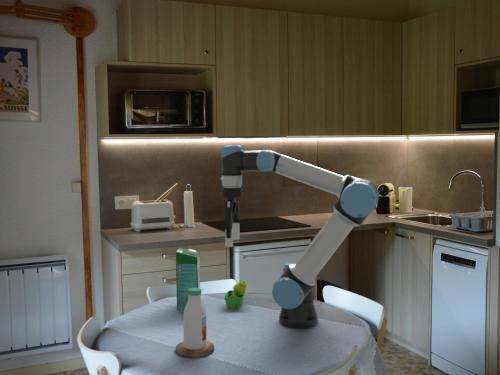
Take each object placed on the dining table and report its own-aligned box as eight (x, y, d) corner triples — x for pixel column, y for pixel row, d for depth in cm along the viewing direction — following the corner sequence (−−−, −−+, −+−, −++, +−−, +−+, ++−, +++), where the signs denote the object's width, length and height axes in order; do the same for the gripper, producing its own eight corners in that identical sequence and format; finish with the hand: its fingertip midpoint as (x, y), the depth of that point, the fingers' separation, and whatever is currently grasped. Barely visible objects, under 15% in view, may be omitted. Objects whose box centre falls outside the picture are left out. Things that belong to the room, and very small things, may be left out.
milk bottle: (197, 352, 180) (196, 293, 178) (179, 347, 184) (178, 290, 182) (210, 344, 186) (210, 288, 184) (193, 340, 190) (192, 284, 188)
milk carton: (198, 309, 228) (197, 251, 226) (176, 309, 228) (175, 251, 226) (200, 303, 237) (199, 247, 235) (179, 303, 237) (178, 247, 235)
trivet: (217, 343, 190) (217, 340, 190) (209, 358, 177) (209, 355, 177) (181, 342, 192) (181, 338, 192) (170, 356, 179) (170, 352, 179)
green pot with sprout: (228, 301, 240) (228, 276, 239) (248, 302, 239) (248, 276, 238) (223, 309, 229) (223, 283, 228) (244, 310, 227) (244, 283, 226)
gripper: (228, 183, 214) (229, 236, 216) (214, 189, 190) (215, 249, 192) (247, 183, 213) (247, 237, 215) (235, 190, 189) (236, 249, 191)
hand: (232, 243), depth 204 cm, fingers open, 13 cm apart
